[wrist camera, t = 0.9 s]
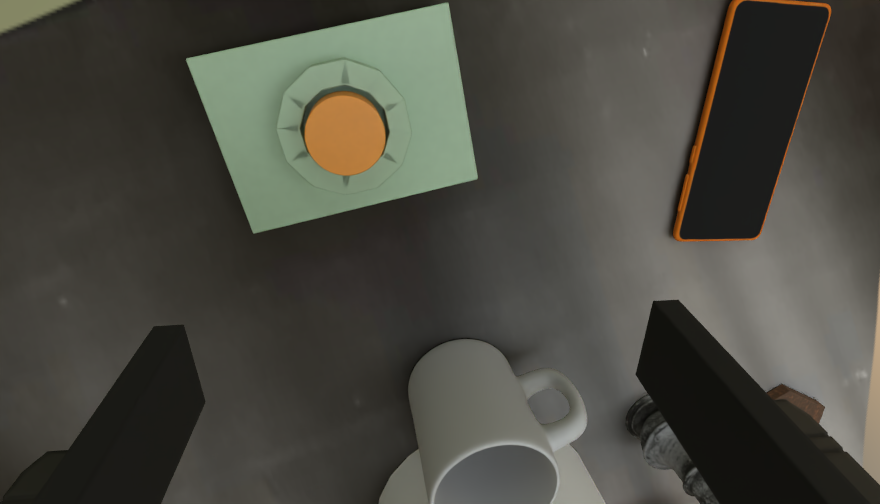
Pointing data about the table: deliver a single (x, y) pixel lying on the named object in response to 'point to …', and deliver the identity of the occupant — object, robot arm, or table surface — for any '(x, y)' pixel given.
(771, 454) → the robot arm
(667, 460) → the salt shaker
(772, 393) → the robot figurine
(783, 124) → the smartphone
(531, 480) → the mug
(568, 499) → the container
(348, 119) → the orange push button
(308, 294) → the table surface
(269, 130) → the green button housing
